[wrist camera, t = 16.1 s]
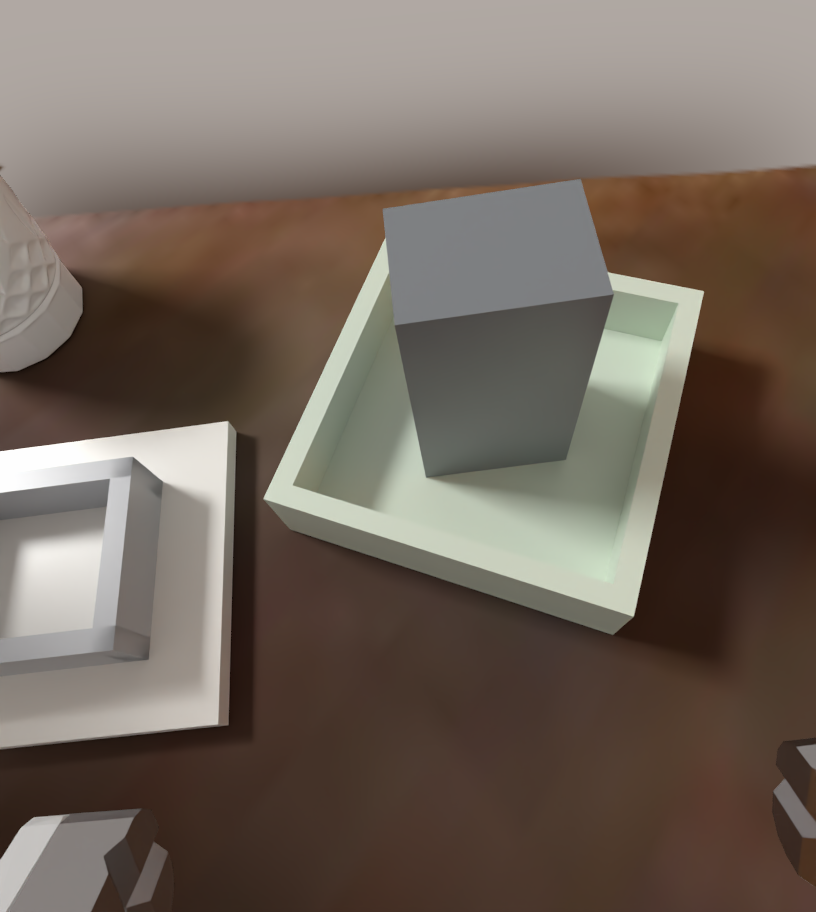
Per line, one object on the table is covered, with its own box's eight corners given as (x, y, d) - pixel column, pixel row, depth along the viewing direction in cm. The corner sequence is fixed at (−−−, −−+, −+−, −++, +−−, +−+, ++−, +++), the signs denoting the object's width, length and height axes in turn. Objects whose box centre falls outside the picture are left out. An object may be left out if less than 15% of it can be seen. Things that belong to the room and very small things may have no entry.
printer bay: (-137, 763, 24) (-232, 766, 21) (-65, 471, 29) (-132, 437, 26) (228, 725, 23) (188, 721, 20) (236, 431, 28) (205, 391, 25)
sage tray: (290, 529, 26) (263, 498, 23) (399, 283, 31) (389, 229, 27) (612, 634, 23) (634, 616, 20) (678, 343, 28) (703, 291, 24)
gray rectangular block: (425, 477, 25) (394, 325, 16) (415, 386, 27) (382, 203, 18) (565, 459, 25) (614, 294, 16) (545, 369, 27) (578, 173, 18)
